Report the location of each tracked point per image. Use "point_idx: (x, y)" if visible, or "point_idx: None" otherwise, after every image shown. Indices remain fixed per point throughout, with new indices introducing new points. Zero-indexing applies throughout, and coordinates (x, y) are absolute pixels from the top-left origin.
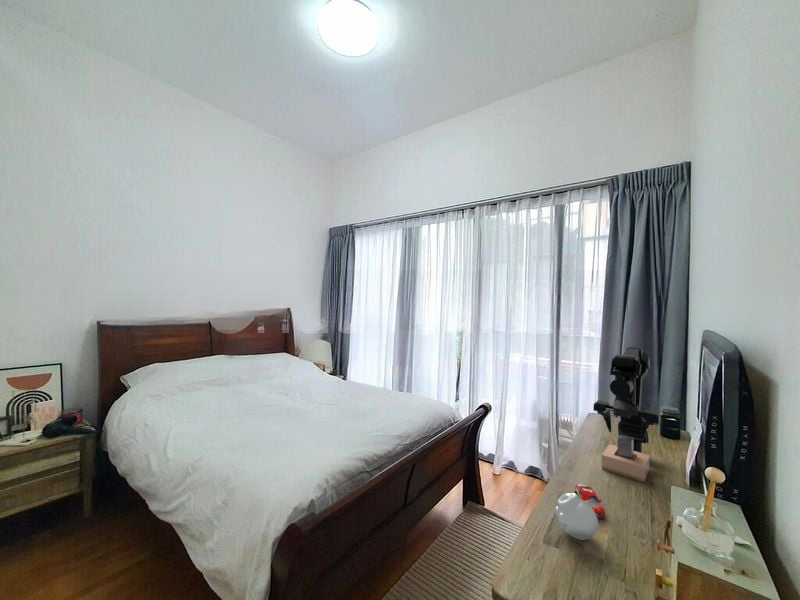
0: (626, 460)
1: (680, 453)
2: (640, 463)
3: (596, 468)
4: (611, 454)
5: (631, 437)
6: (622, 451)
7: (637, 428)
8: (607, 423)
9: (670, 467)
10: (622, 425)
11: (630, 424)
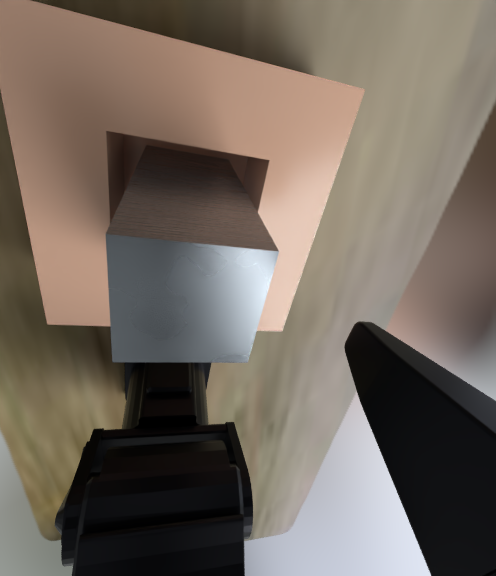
0: (169, 88)
1: (20, 476)
2: (47, 92)
3: (347, 72)
4: (285, 156)
5: (132, 358)
6: (209, 189)
7: (114, 525)
8: (485, 404)
9: (2, 351)
10: (225, 507)
11: (167, 545)
